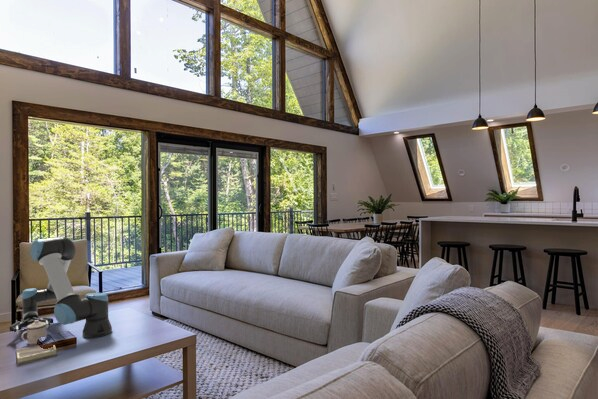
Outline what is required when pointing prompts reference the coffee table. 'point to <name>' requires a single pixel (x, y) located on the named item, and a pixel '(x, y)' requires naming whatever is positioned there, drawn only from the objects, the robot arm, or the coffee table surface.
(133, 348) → the coffee table surface
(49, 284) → the robot arm
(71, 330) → the coffee table surface
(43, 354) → the brass cradle
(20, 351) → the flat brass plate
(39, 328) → the teacup with lid
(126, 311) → the coffee table surface
